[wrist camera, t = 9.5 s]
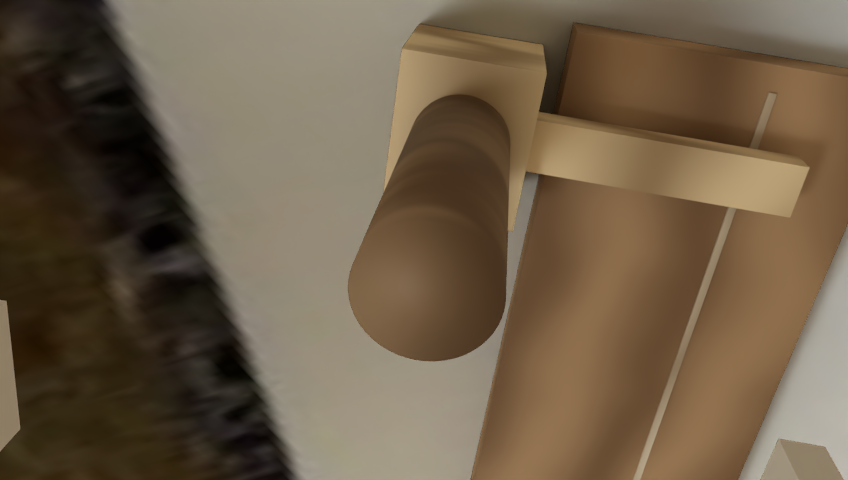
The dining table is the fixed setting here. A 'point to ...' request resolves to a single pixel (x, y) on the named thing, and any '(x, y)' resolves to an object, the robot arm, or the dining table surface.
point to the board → (664, 273)
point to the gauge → (506, 185)
